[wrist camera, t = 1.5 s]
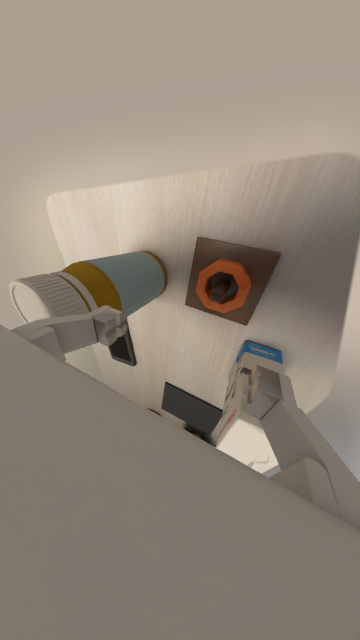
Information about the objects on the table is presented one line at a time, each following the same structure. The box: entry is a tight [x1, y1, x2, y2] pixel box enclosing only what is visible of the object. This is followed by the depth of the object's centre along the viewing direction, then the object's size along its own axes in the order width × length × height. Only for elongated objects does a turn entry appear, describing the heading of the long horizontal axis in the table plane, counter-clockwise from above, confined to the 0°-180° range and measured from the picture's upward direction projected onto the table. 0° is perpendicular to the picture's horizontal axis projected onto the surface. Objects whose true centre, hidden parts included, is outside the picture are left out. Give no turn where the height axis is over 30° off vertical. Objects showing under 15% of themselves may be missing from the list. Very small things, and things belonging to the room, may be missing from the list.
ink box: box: [216, 341, 285, 474], centre depth 19 cm, size 9×5×12 cm, turn 173°
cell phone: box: [109, 320, 136, 366], centre depth 35 cm, size 7×14×1 cm, turn 2°
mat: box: [162, 382, 223, 436], centre depth 37 cm, size 14×12×1 cm
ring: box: [196, 258, 251, 313], centre depth 18 cm, size 6×6×2 cm
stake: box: [185, 237, 281, 326], centre depth 17 cm, size 9×9×5 cm
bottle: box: [9, 251, 166, 324], centre depth 18 cm, size 7×7×15 cm
